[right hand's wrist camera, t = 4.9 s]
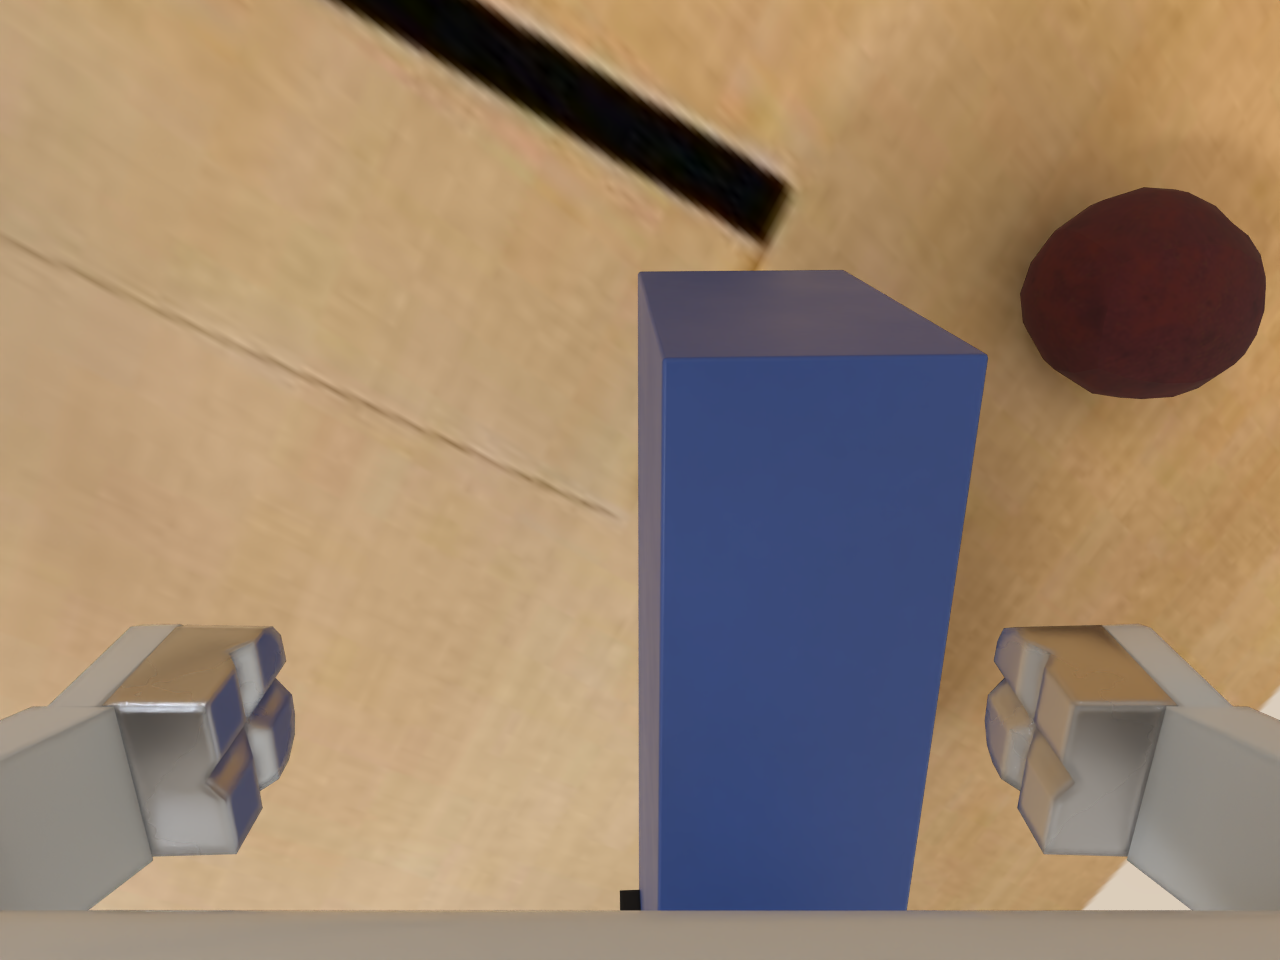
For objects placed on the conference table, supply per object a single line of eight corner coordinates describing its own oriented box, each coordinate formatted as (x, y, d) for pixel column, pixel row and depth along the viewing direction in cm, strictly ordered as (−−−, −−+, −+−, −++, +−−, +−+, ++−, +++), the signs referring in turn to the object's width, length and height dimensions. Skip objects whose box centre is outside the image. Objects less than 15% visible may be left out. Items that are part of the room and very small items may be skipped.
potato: (1165, 367, 37) (1287, 419, 30) (980, 373, 36) (1063, 427, 30) (1203, 179, 34) (1347, 193, 27) (1003, 184, 34) (1101, 199, 27)
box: (637, 271, 25) (661, 358, 16) (844, 269, 26) (990, 354, 16) (639, 961, 35) (654, 1267, 26) (787, 955, 36) (856, 1256, 26)
